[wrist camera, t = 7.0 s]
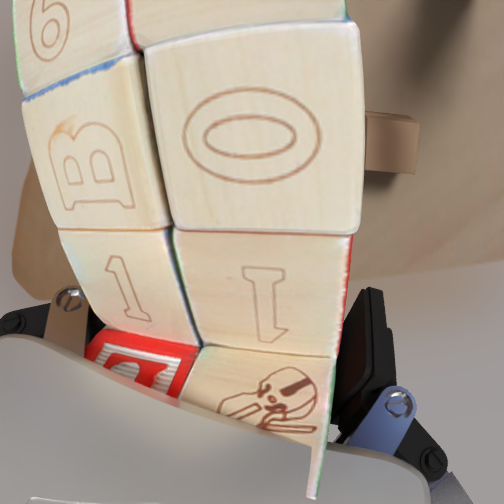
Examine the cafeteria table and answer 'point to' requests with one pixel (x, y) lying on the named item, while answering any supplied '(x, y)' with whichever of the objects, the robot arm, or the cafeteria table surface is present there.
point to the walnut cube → (391, 143)
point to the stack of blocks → (205, 191)
